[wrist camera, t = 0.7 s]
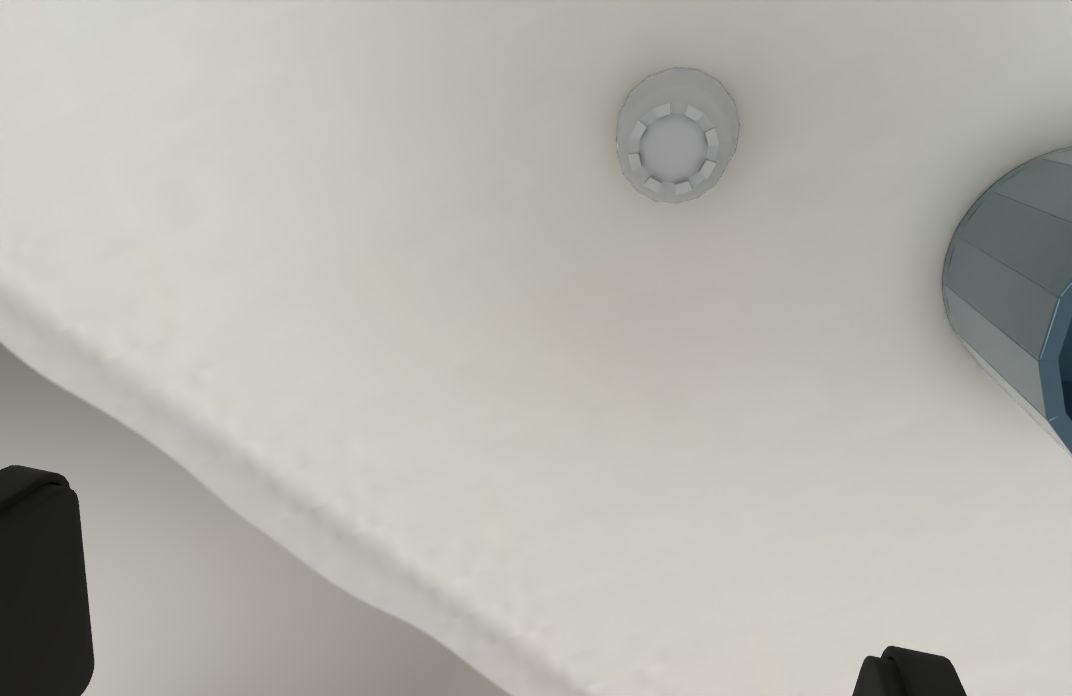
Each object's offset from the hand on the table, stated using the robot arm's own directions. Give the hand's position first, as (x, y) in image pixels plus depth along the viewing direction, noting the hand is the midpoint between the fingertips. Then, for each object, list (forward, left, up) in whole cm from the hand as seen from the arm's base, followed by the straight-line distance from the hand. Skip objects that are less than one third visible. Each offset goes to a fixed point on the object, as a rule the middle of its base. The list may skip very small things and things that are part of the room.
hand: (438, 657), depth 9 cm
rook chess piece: (-5, -2, -24) cm, 25 cm away
